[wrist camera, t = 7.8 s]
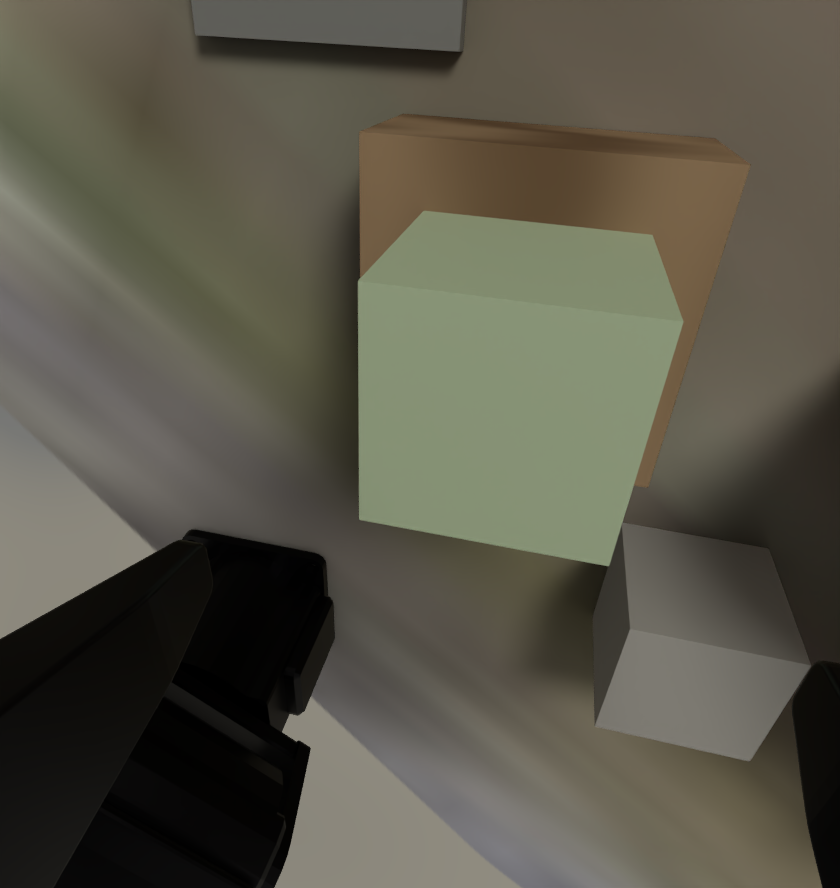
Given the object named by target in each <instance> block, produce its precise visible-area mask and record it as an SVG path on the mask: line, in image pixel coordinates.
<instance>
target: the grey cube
mask: <svg viewBox="0 0 840 888" xmlns="http://www.w3.org/2000/svg"><path fill="white" fill-rule="evenodd" d="M593 660H594V717H595V727H600V728H604V729H608V730H613V731H617V732H622V733H626V734H630V735H635V736H639V737H644V738H648V739H652V740H657V741H661V742H666V743H670V744H674V745H679V746H683V747H688V748H692V749H696V750H701V751H705V752H710V753H714V754H719V755H723V756H727V757H732V758H736V759H741V760H745V761H749V762H750V760H751V759H752V757H753V756H754V754H755V753H756V751H757V750H758V748H759V746H760V745H761V743H762V742H763V740H764V739H765V737H766V736H767V734H768V732H769V731H770V729H771V728H772V726H773V725H774V723H775V721H776V720H777V718H778V717H779V715H780V714H781V712H782V711H783V709H784V707H785V706H786V704H787V703H788V701H789V700H790V698H791V697H792V695H793V693H794V692H795V690H796V689H797V687H798V686H799V684H800V683H801V681H802V679H803V678H804V676H805V675H806V673H807V672H808V670H809V669H810V667H811V663H810V660H809V658H808V655H807V652H806V649H805V647H804V644H803V641H802V638H801V636H800V633H799V630H798V627H797V625H796V622H795V619H794V616H793V614H792V611H791V608H790V606H789V603H788V600H787V597H786V595H785V592H784V589H783V586H782V584H781V581H780V578H779V575H778V573H777V570H776V567H775V564H774V562H773V559H772V556H771V553H770V551H769V548H763V547H757V546H752V545H746V544H740V543H735V542H729V541H724V540H718V539H712V538H707V537H701V536H695V535H690V534H684V533H679V532H673V531H667V530H662V529H656V528H651V527H645V526H639V525H634V524H628V523H622V526H621V529H620V532H619V535H618V539H617V542H616V545H615V549H614V552H613V555H612V558H611V562H610V565H609V566H608V568H607V571H606V575H605V578H604V581H603V584H602V588H601V591H600V594H599V597H598V601H597V604H596V607H595V610H594V614H593Z"/></svg>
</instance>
